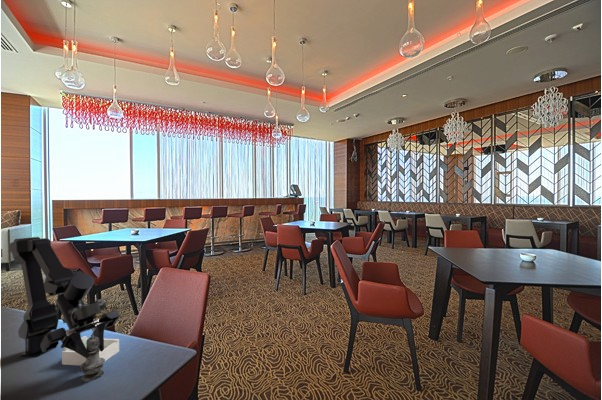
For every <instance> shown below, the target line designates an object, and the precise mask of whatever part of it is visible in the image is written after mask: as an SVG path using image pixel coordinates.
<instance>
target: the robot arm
mask: <svg viewBox="0 0 602 400" xmlns="http://www.w3.org/2000/svg"><path fill="white" fill-rule="evenodd" d="M9 252H10V253H11V254H12V258H13V260H14V261H16V262H17V263H18V264H19V265H21V270H22V277H23V282H24V288H25V293H26V294H25V295H26V300H27V305H28V306H27V309H26V311H25V313H24V314H23V321H22V323H21V325H20V327H19V328H18V331H17V332H18V337H19V338H21V339H23V340H24V341H25V344H24V346H25V351H24V352H22V353H20V354H19V355H20V356H21V357H39V356H41V355H42V354H45V353H47V352H49V351H51V350H53V349H56V348H57V347H58V345H59V342H61V345H60V348H61V349H64V347H66V348H68V349H70V350H73V351H75V352H77V353H78V354H80V355H82V356H83V357H85V358H88V357H89V354H88V351H87V349H86V347H85V345H84V343H83V341H82V340H81V338H82V336H81V334H82V333H85V332H87V331H90V330H91V331H92V333H91V335H92V334H93V335H94V336H95V337H98V339H99V347H100V351H101V352H102V351H103V350H104V339H105V337H104V335H105V334H104V333H105V330H106V329H108V328H109V329H110V328H112V327H113V326H114V325H115V324H116V323H117V321H118V320H119V318H120V317H121V314H120V312H119V311H118V310H117V309H113V310H110V311H107V312H105V313H103V314H102V311H103V310H105V309H106V308H107V303H106V301H105V300H104V298H99V299H96V300H95V301H94V302H93V303H91V304H88V303H86V304H85V301H84V299H85V298H86V296H87V295H88V294H89V292H90V290H91V288H92V287H93V286H94V284H95V278H94V277H93V276H91V275H90V274H88V273H83V271H82V270H78V271H73V270H72V269H70V268H67V267H65V266H64V265H63V264H62V262H61V261H60V258H59V257H58V255H57V254H56V252H55V250H54V249H53V247H52V242H51V240H50V239H49V238H47V237H45V238H41V237H39V236H33V237H20V238H15V239H14V240H13V242H10V243H9ZM43 275H44V276H45V278H43V277H44V276H43ZM47 295H49V296H50V297H51V296H52V297H54V296H58V295H59V296H58V298H57V299H56V303H50V301H48V298H47V297H48V296H47ZM57 308H58V309H59V311H60V312H61V315H62V317H63V319H62V324H66V326H67V328H68V329H66V328H64V327H59V328H58V324H59V319H60V316H59V314H58V312H57ZM98 314H102V316H101V317H100V318H99V319H97V315H98ZM95 319H97V320H95ZM91 335H90V337H92V336H91Z"/></svg>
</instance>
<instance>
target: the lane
mask: <svg viewBox="0 0 602 400" xmlns="http://www.w3.org/2000/svg"><path fill="white" fill-rule="evenodd" d="M88 338H89V337H87V335H83V336H81V340H82V341H84V340H86V339H88ZM119 352H120V339H119V338H104V350H103V351H102V352H101V351H100V350H99V357H100V358H104V359H105V362H106V361H107V360H109V359H111V358H112V357H113V356H115V355H116V354H118V353H119ZM85 361H86V358H85V357H83V356H82V355H80V354H78V353H77V352H75V351H72V350H70V349H68V348H66V347H64V348H63V350H62V351H61V365H65V366H81V364H82V363H84V362H85Z"/></svg>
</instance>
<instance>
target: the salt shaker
mask: <svg viewBox="0 0 602 400" xmlns="http://www.w3.org/2000/svg"><path fill="white" fill-rule="evenodd" d="M91 336H92V337H91ZM88 338H89V339H88V340H87V342H86V348H87V351H88V354H89V357H88V358H86V361H85V362H84V363H82V364H81V365H79V368H80V370H81V373H82V374H83V375H82V377H81V378H80V379H81V381H82V382H92V381H95V380H97V379H99V378H101V377H102V376H103V375H104V373H105V371H104V370H103V369H102V368H103V367H104V364H105V362H106V361H105V359H104V358H100V357H99V350H100V347H99V339H98V337H95V336H94V335H93V334H92V333H91V335H90V337H88Z"/></svg>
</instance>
